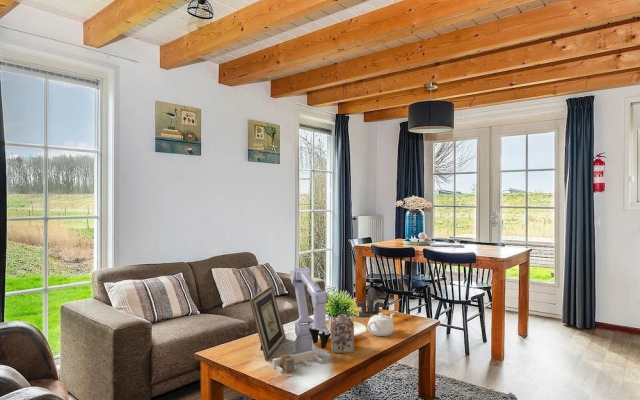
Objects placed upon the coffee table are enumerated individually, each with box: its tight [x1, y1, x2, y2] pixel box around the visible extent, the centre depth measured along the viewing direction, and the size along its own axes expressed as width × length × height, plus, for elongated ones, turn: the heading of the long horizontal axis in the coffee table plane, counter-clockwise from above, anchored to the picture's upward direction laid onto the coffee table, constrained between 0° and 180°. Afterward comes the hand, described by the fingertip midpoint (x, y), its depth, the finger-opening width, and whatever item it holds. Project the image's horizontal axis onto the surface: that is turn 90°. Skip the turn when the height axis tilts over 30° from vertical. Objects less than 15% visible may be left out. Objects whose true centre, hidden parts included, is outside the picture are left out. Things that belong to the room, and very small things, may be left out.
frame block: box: [280, 353, 295, 374], centre depth 199 cm, size 6×4×6 cm, turn 31°
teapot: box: [366, 312, 395, 337], centre depth 253 cm, size 25×16×12 cm, turn 135°
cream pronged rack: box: [271, 349, 324, 374], centre depth 205 cm, size 8×24×5 cm, turn 122°
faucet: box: [356, 286, 385, 318], centre depth 286 cm, size 18×16×20 cm
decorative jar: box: [329, 313, 355, 354], centre depth 226 cm, size 12×12×18 cm
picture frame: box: [249, 285, 287, 361], centre depth 227 cm, size 33×10×30 cm, turn 168°
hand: (319, 345), depth 204 cm, fingers open, 7 cm apart
